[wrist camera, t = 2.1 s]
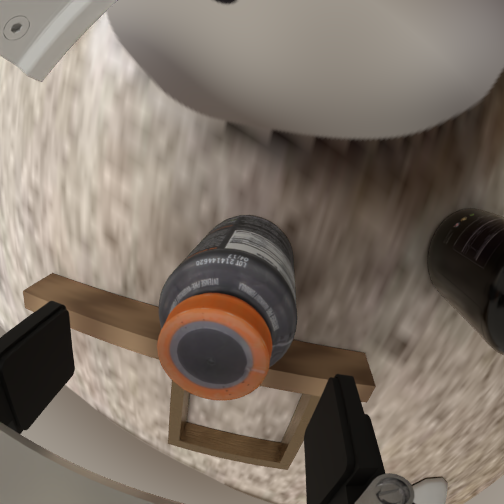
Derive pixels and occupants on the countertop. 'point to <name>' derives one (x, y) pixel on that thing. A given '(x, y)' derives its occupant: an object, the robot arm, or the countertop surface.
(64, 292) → the door edge strip
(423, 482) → the flask
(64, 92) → the countertop surface
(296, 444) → the frame
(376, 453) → the robot arm
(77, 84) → the countertop surface
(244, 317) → the pill bottle
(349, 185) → the countertop surface
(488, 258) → the supplement bottle
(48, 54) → the gray curved plastic casing
